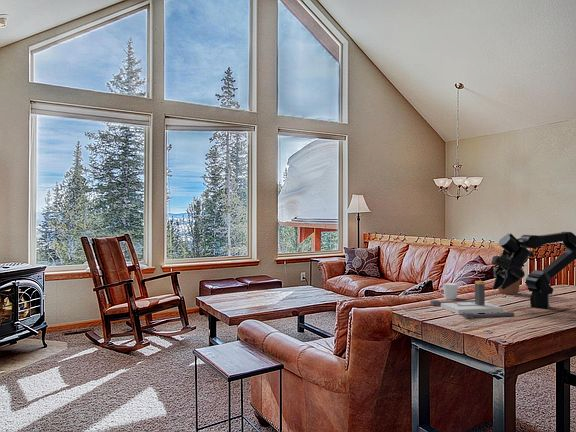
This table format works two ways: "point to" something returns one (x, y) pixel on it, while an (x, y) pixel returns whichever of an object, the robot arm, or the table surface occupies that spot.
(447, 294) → the white cup
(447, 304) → the breaker panel
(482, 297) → the breaker lever
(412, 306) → the table surface
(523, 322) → the table surface
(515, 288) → the potted plant
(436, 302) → the pair of grey rods
